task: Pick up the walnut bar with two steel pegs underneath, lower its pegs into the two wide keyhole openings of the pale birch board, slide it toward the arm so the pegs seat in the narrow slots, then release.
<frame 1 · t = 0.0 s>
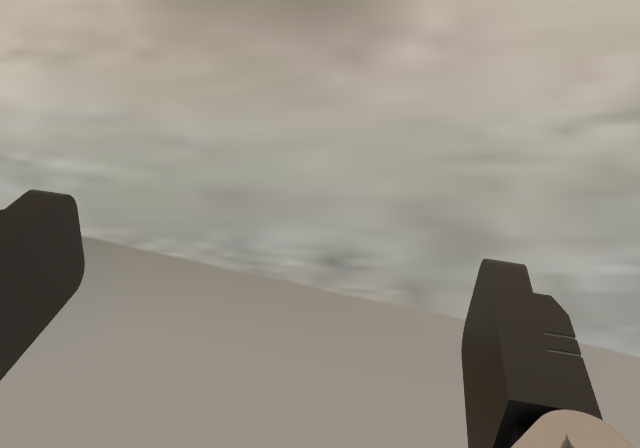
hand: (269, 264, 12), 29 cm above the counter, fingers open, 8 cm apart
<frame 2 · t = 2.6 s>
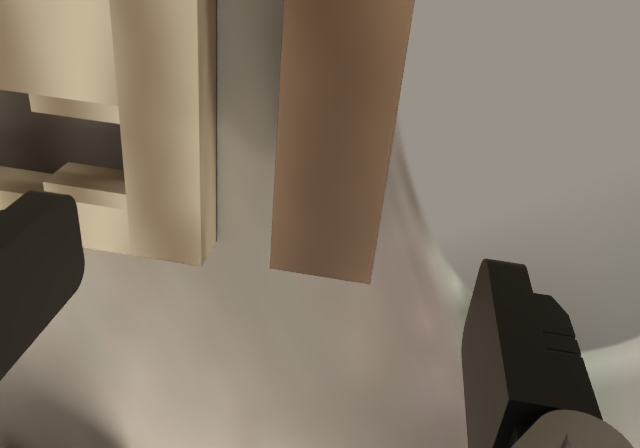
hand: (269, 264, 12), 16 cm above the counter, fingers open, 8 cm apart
keyhole board: (40, 19, 27), on the counter
walnut bar: (355, 59, 25), on the counter
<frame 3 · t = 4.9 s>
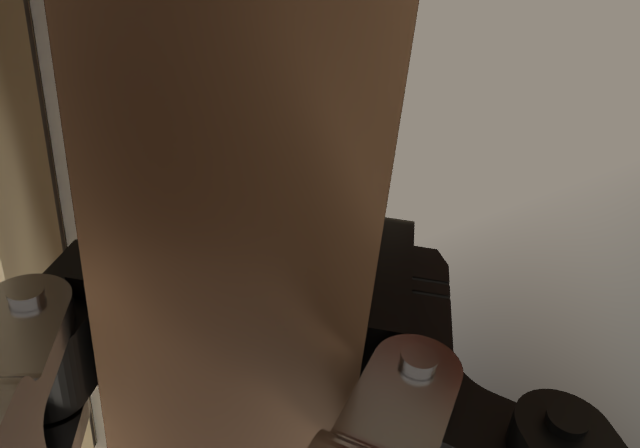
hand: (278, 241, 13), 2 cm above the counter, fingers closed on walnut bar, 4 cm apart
walnut bar: (296, 200, 14), on the counter, touching gripper
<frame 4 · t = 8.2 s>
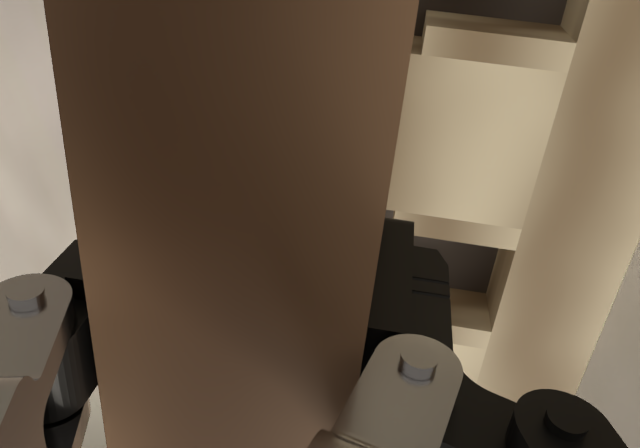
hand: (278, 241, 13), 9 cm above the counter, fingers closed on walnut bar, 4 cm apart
keyhole board: (394, 108, 20), on the counter
walnut bar: (296, 198, 14), point 7 cm above the counter, touching gripper
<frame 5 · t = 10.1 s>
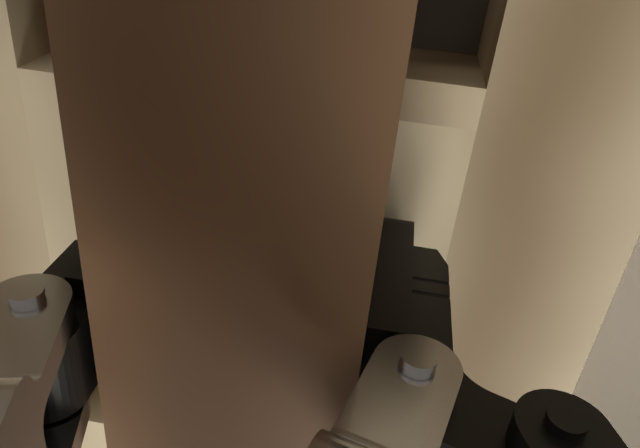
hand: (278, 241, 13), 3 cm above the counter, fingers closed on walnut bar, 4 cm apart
keyhole board: (263, 163, 15), on the counter
walnut bar: (296, 197, 14), point 1 cm above the counter, touching gripper
when the fingers open (3 cm above the counter, at t = 11.5 s): walnut bar stays where it is, resting on keyhole board.
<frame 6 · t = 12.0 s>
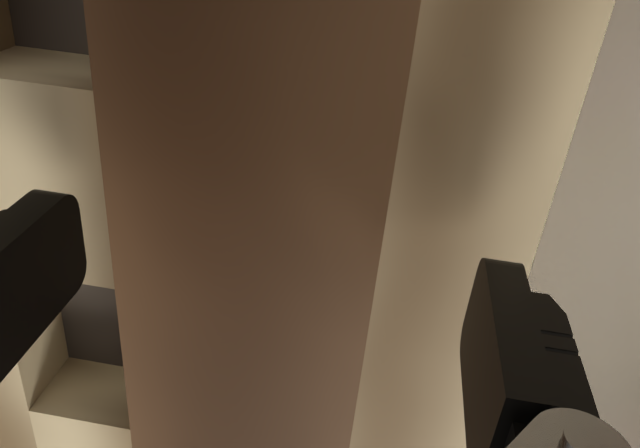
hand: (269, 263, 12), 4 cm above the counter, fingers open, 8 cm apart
keyhole board: (201, 162, 16), on the counter
walnut bar: (303, 187, 15), resting on keyhole board
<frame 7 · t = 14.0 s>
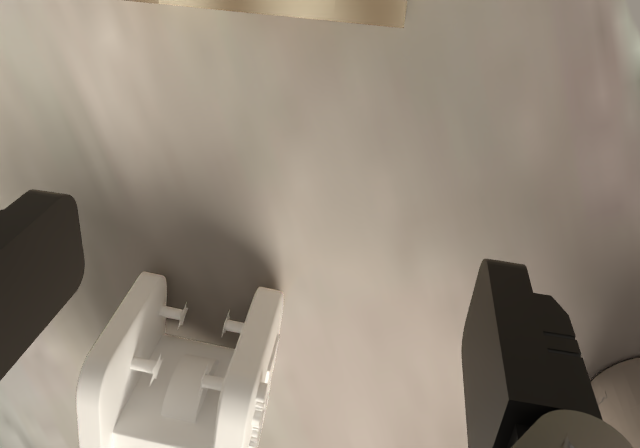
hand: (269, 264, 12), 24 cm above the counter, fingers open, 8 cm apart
cable organizer: (215, 337, 46), on the counter
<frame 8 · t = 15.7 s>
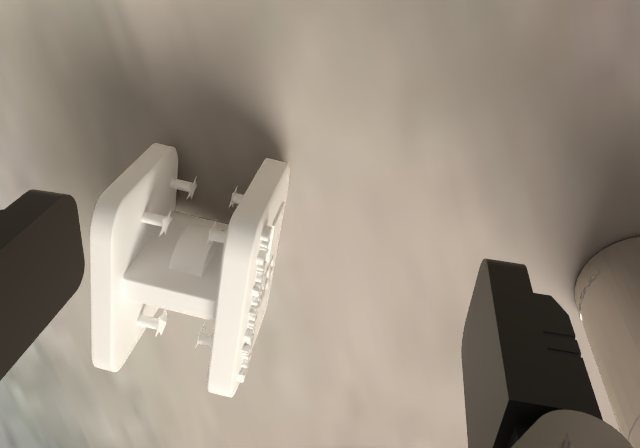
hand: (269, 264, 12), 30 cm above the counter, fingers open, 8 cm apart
cable organizer: (222, 222, 48), on the counter
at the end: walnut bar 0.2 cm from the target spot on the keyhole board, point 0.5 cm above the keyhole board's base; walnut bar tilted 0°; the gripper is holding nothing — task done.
